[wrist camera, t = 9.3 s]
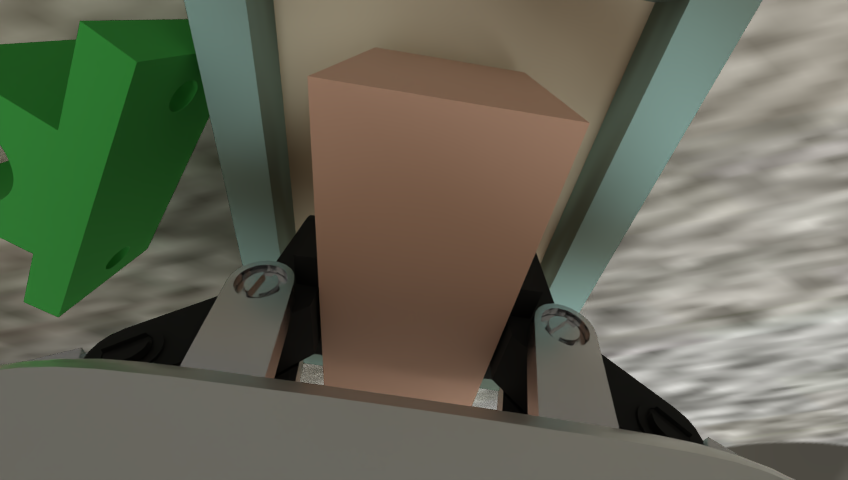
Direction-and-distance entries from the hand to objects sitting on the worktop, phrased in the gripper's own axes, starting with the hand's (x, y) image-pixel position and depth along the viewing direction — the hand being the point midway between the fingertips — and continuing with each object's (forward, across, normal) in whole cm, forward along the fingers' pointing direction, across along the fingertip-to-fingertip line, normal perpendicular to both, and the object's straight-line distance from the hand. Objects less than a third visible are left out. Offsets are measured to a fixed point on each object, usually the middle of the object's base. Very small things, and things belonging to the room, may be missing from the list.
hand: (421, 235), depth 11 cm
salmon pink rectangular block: (+1, 0, 0) cm, 1 cm away
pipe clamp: (+3, +11, -1) cm, 12 cm away
